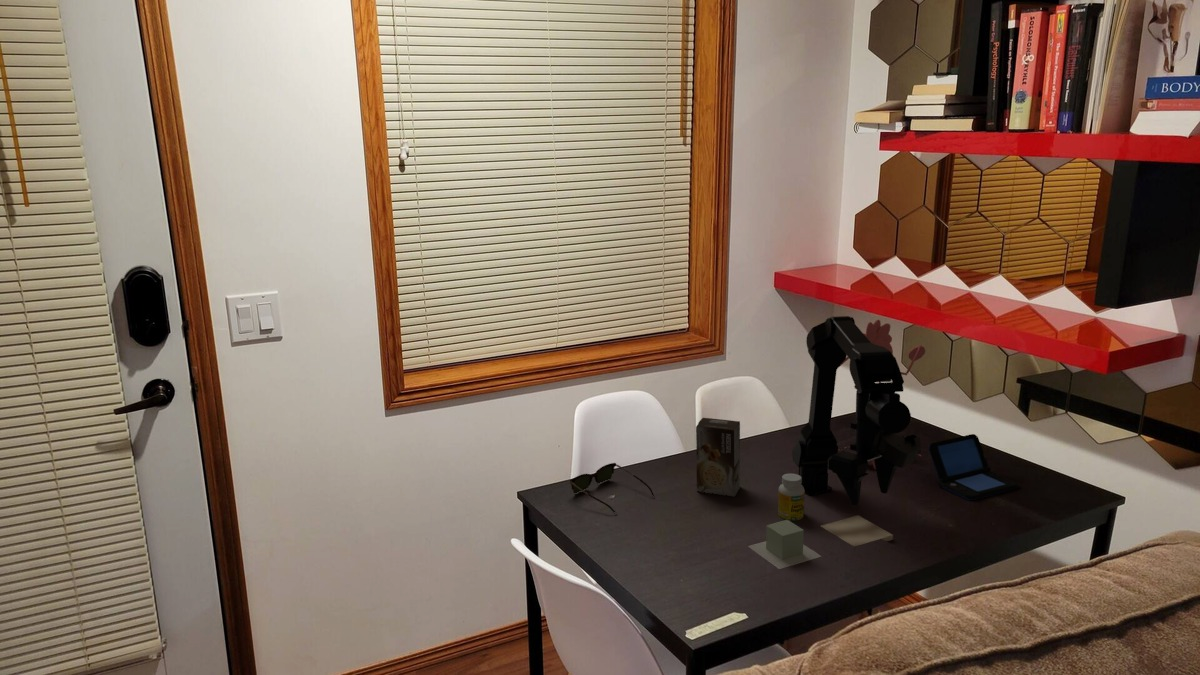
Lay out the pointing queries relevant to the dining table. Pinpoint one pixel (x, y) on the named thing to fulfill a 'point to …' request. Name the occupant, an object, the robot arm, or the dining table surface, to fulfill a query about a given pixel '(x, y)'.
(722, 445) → the coffee box
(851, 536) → the birch pad
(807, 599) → the dining table surface
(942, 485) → the handheld game console
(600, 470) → the sunglasses
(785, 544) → the sage block
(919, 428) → the dining table surface
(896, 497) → the dining table surface
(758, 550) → the grey pad
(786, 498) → the supplement bottle
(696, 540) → the dining table surface
